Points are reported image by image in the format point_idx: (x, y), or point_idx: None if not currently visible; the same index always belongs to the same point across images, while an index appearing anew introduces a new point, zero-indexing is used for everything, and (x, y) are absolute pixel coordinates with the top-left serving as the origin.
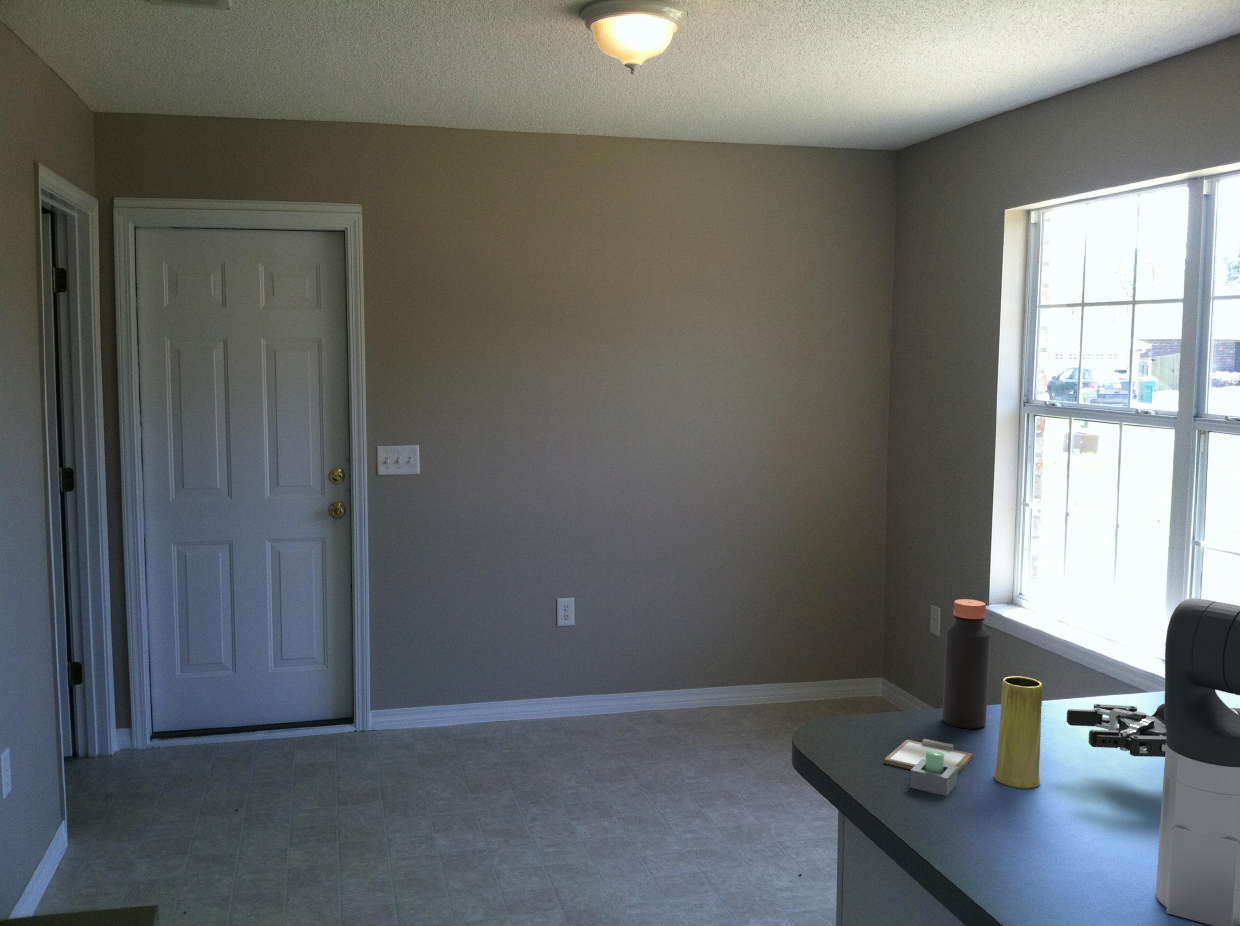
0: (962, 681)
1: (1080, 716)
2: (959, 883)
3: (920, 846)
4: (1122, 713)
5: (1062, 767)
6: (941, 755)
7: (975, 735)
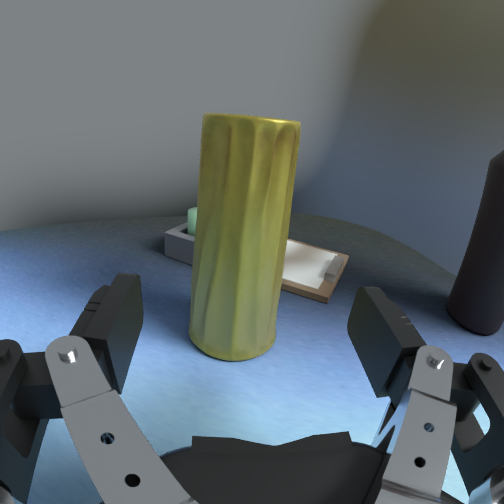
0: (473, 237)
1: (369, 326)
2: (6, 230)
3: (63, 225)
4: (394, 436)
5: (340, 425)
6: (193, 213)
7: (433, 322)
